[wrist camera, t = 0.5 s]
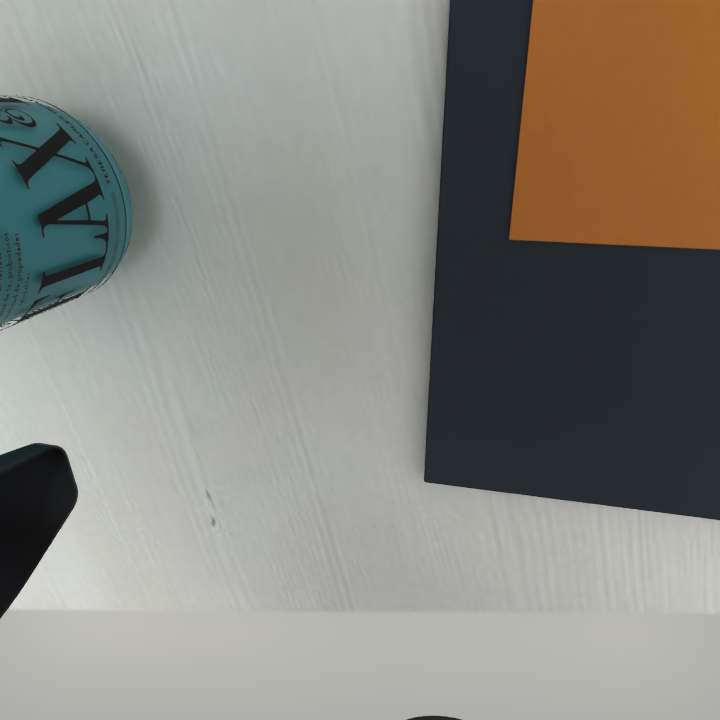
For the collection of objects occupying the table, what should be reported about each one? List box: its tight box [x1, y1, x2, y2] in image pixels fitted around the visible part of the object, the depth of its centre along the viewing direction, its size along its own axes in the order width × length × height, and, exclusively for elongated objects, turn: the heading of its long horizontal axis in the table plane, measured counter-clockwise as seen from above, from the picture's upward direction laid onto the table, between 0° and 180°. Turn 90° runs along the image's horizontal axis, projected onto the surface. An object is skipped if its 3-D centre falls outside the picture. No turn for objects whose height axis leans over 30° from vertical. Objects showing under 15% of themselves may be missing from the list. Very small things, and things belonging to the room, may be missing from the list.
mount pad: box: [424, 0, 720, 520], centre depth 18 cm, size 17×12×1 cm
